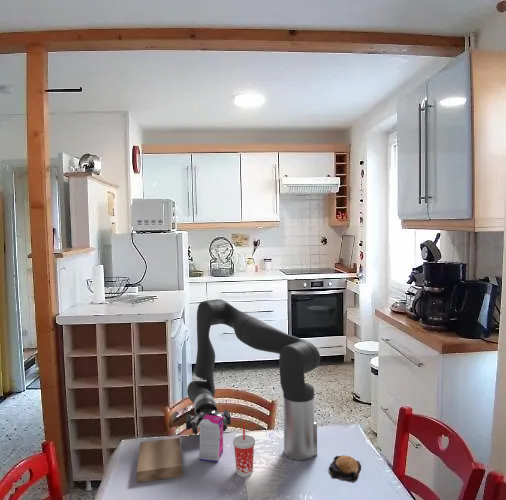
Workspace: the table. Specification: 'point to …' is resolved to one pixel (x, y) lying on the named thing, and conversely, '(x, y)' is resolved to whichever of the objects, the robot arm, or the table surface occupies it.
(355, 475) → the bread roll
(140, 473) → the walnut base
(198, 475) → the table surface
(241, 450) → the beverage cup
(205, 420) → the supplement box
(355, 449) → the table surface
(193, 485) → the table surface
